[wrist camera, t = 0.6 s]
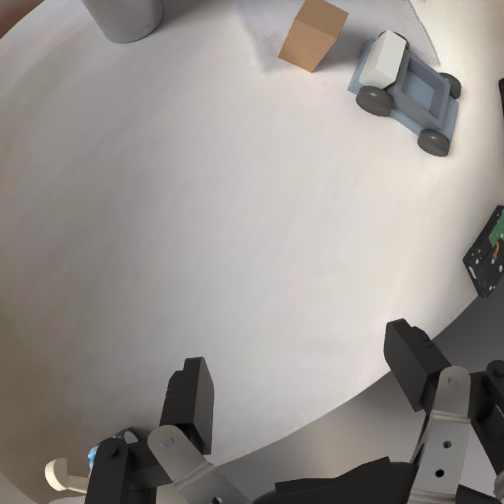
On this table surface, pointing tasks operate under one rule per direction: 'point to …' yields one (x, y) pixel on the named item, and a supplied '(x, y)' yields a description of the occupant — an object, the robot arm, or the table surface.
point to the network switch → (502, 91)
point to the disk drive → (487, 255)
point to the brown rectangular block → (312, 33)
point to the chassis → (407, 91)
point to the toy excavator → (62, 481)
